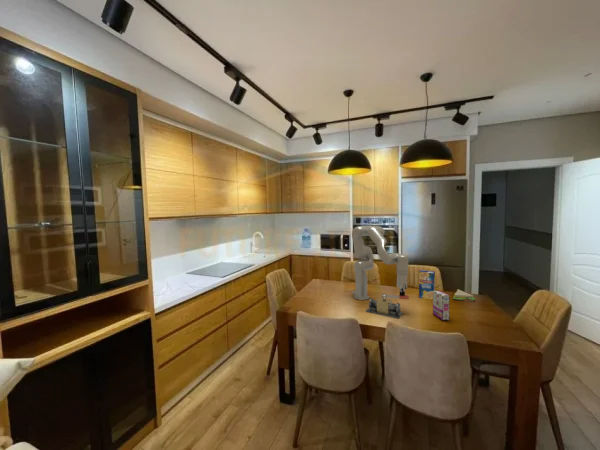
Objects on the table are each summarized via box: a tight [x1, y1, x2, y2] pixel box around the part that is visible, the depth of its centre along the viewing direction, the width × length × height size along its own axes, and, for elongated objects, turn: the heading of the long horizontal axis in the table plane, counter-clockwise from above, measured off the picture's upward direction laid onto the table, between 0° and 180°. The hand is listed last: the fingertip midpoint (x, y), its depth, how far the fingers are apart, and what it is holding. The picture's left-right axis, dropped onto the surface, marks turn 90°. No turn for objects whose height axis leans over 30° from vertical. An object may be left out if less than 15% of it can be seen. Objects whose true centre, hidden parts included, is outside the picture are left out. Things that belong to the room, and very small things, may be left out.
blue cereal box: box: [418, 269, 436, 301], centre depth 212 cm, size 7×11×22 cm, turn 56°
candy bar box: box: [432, 290, 450, 321], centre depth 175 cm, size 11×5×16 cm, turn 5°
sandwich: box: [453, 289, 475, 302], centre depth 211 cm, size 15×20×5 cm
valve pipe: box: [365, 297, 404, 319], centre depth 184 cm, size 23×11×11 cm, turn 54°
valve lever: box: [381, 293, 410, 300], centre depth 182 cm, size 18×3×2 cm, turn 76°
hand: (402, 297), depth 184 cm, fingers closed
